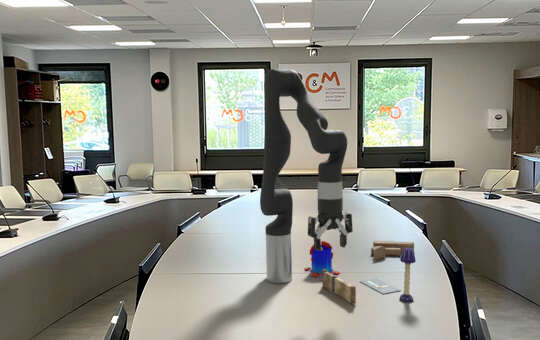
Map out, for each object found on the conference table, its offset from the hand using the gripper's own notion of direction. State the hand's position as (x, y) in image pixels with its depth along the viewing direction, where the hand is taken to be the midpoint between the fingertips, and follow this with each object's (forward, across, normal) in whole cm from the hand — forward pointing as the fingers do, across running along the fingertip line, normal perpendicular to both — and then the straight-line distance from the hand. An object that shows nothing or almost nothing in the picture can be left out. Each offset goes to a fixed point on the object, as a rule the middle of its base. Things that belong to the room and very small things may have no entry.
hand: (330, 248), depth 147 cm
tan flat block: (+18, -7, -13) cm, 24 cm away
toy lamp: (+18, -24, +6) cm, 31 cm away
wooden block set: (+19, -51, -37) cm, 66 cm away
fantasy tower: (+19, -14, -31) cm, 39 cm away
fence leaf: (+18, -7, -4) cm, 19 cm away
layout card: (+18, -24, -8) cm, 31 cm away
